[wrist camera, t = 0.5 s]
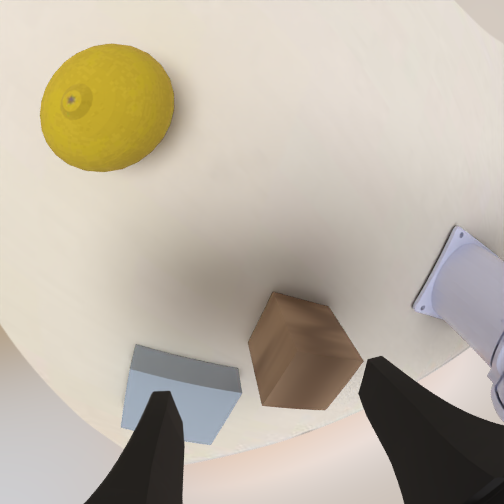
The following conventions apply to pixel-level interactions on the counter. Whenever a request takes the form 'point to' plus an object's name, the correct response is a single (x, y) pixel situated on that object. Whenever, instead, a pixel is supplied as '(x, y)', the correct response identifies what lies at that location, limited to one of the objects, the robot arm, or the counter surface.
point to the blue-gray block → (182, 391)
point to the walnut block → (300, 354)
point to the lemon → (107, 108)
